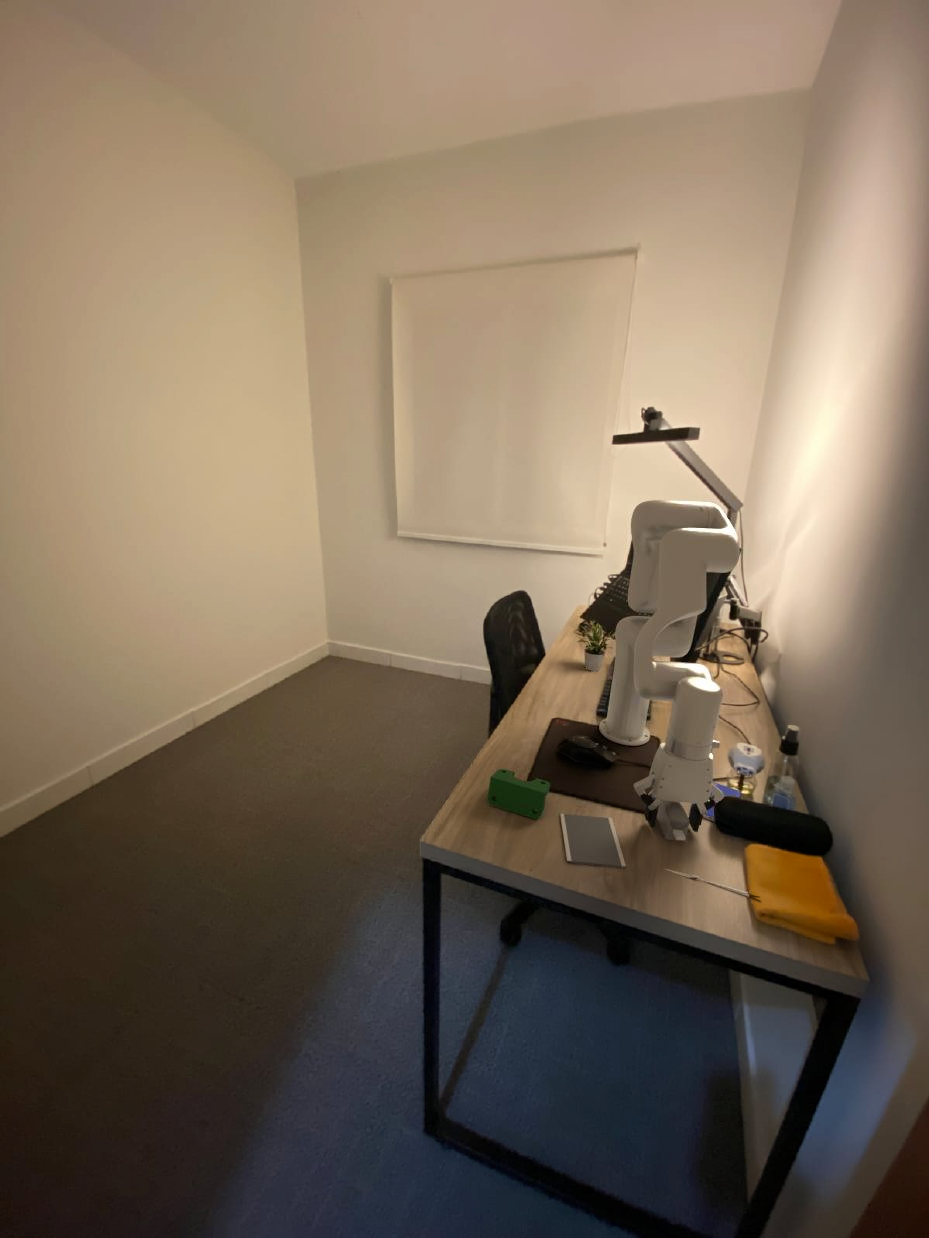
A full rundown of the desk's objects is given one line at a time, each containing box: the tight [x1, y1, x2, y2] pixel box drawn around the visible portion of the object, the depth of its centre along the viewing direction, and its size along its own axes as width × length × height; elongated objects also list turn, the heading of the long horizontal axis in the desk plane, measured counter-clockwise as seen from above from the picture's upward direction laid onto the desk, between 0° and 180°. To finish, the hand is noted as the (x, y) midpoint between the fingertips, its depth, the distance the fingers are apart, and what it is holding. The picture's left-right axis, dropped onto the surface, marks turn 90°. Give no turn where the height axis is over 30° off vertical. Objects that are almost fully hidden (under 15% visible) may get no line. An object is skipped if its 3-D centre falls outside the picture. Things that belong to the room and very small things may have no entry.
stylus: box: [665, 868, 750, 898], centre depth 83 cm, size 4×1×19 cm
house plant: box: [575, 620, 615, 672], centre depth 166 cm, size 14×14×16 cm
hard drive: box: [689, 781, 741, 822], centre depth 102 cm, size 2×8×12 cm
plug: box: [656, 800, 690, 842], centre depth 93 cm, size 8×4×6 cm, turn 175°
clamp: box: [487, 768, 551, 820], centre depth 99 cm, size 12×6×9 cm, turn 60°
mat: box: [559, 813, 627, 869], centre depth 91 cm, size 12×10×1 cm
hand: (671, 824), depth 94 cm, fingers open, 7 cm apart
